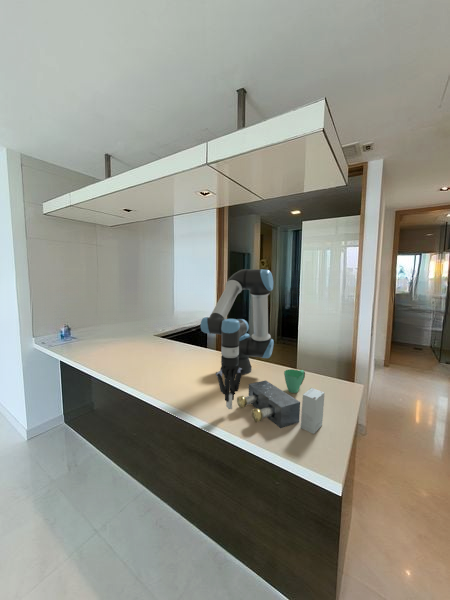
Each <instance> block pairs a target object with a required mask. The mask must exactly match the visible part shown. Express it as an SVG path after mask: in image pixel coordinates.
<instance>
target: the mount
mask: <svg viewBox="0 0 450 600" xmlns="http://www.w3.org/2000/svg"><path fill="white" fill-rule="evenodd" d="M255 394H257V395H258V396H259V400H258V402H256V403H252V404H251V406H252V407H254V409H256V408H259V409H264V408H268V407H271V406H273V407H274V408H275V415H272V416H269V417H266V418H267V419H268V420H270V422H272V423H273V424H274V425H276V427H278V428H279V429H283V428H286V427H287V428H288V427H290V426H293V425H295V424H298V423H300V418H301V416H300V415H301V402H300V400H298V399H296V398H295V397H293V396H291V395H290V394H288V393H287V392H286V391H283V390H282V389H280V388H279V387H277V386H276V385H274V384H273V383H271V382H269V381H268V380H259V381H256V382H252V383H249V384H248V396H251V395H255Z"/></svg>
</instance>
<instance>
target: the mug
mask: <svg viewBox="0 0 450 600" xmlns="http://www.w3.org/2000/svg"><path fill="white" fill-rule="evenodd" d="M283 374H284V381H285V384H286V387H287V391H288V392H289V393H292V394H297V393H298V392H299V390H300V388H301V386H302V385H303V382H304V380H305V377H306V371H305V370H304V369H299V370H298V369H293V368H291V369H286V370H285V371H284V372H283Z"/></svg>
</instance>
